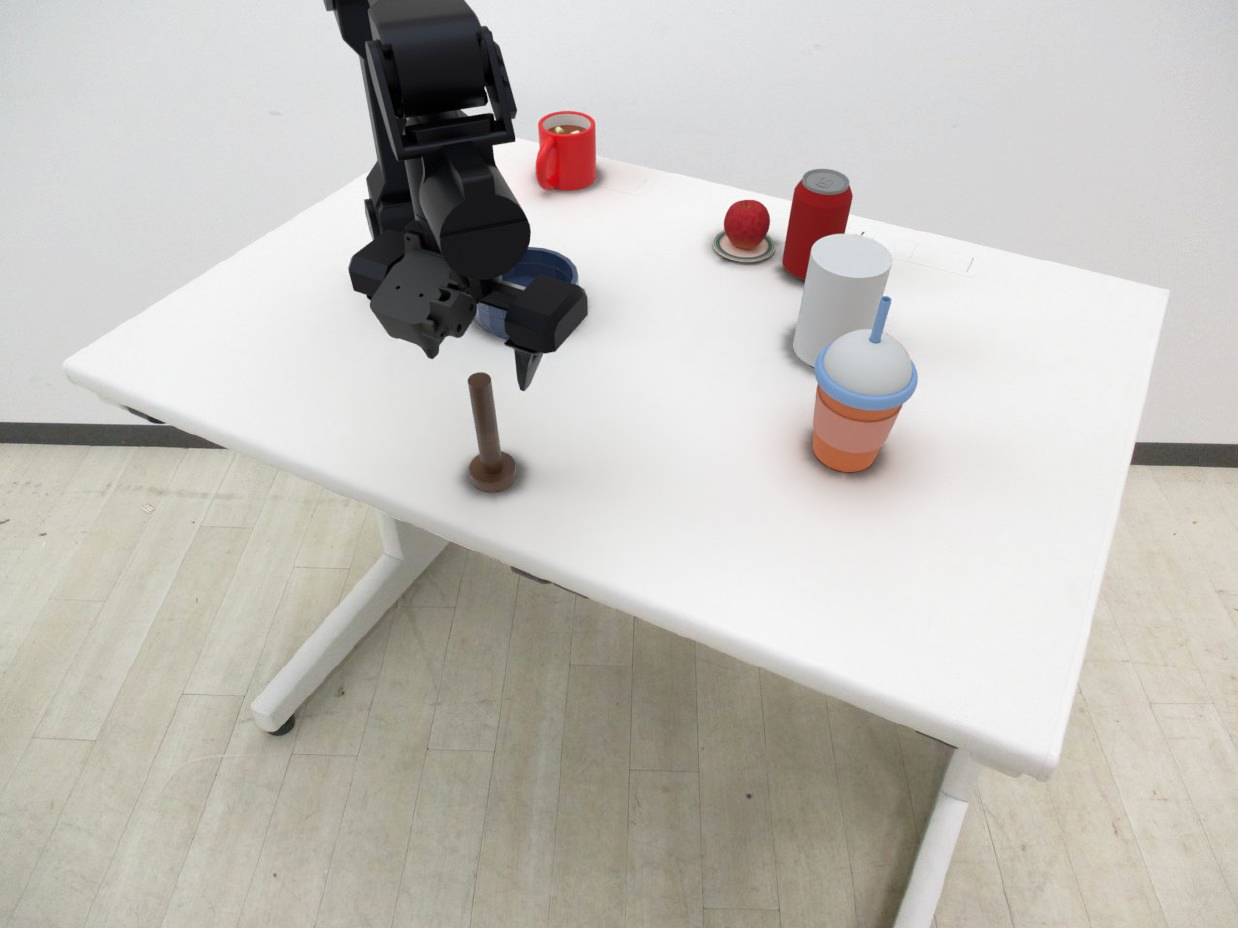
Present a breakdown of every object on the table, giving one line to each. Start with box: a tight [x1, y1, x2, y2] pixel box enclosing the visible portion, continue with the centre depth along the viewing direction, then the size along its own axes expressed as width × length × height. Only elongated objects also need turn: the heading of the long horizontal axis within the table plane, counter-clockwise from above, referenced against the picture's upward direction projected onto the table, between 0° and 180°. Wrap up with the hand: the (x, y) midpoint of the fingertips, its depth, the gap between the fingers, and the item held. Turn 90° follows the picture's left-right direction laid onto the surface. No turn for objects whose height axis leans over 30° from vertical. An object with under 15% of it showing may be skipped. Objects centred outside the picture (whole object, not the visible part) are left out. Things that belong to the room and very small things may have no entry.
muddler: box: [467, 371, 518, 493], centre depth 77 cm, size 4×4×12 cm
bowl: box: [475, 246, 580, 340], centre depth 98 cm, size 12×12×4 cm
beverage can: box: [782, 168, 853, 281], centre depth 101 cm, size 7×7×12 cm
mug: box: [534, 110, 597, 191], centre depth 117 cm, size 8×12×8 cm, turn 155°
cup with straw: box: [812, 295, 919, 473], centre depth 77 cm, size 9×9×18 cm
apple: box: [712, 199, 776, 263], centre depth 106 cm, size 8×8×6 cm
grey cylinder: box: [792, 233, 893, 368], centre depth 90 cm, size 8×8×12 cm
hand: (478, 371), depth 72 cm, fingers open, 9 cm apart
